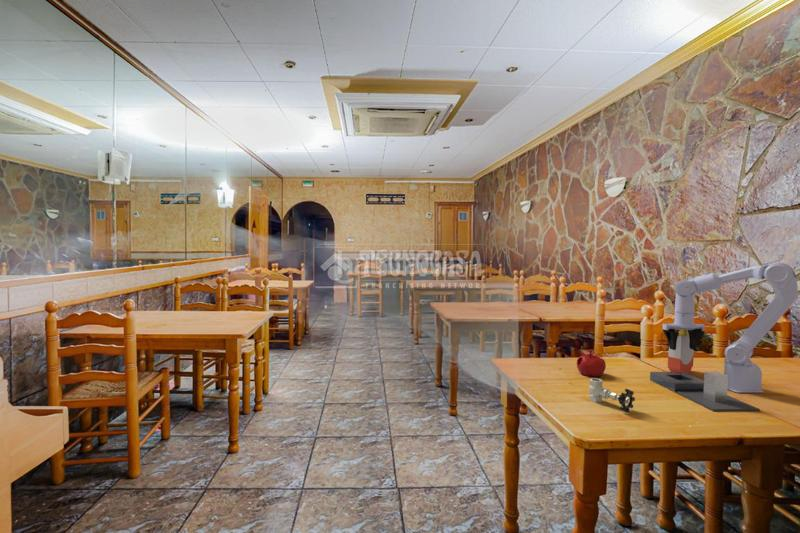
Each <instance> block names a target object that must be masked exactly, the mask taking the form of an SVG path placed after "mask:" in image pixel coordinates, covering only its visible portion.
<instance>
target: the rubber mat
mask: <svg viewBox="0 0 800 533" xmlns="http://www.w3.org/2000/svg"><path fill="white" fill-rule="evenodd" d="M676 394H677V395H679V396H682V397H684V398H686V399H687V398H688V400H689V399H690V400H689V401H691V400H692V401H691V402H693V401H694V403H695V402H696V404H697V403H698V405H699V404H700V405H699V406H701V405H702V406H701V407H703V406H704V407H703V408H706V409H708V410H710V411H712V412H760V408H758V407H756V406H753V405H751V404H749V403H747V402H744V401H742V400H740V399H737V398H735V397H732V396H730V395H728V394H727V402H714V401H711V400H709V399H707V398H705V397H703V394H704V392H676Z"/></svg>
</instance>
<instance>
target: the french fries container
mask: <svg viewBox="0 0 800 533" xmlns="http://www.w3.org/2000/svg"><path fill="white" fill-rule="evenodd" d="M675 331H676V332H677V330H675ZM678 332H679V335H678V338H677V343H676V350H672V349H670V347H669V346H668V351H667V352H668V353H667V355H668V356H667V368H668V370H669V372H684V373H687V374H690V373H691V371H692V368H693V366H694V358H695V357H694V354H695V352H694V351H695V350H693V349H690V347H689V333H688V330H678Z"/></svg>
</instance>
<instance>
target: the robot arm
mask: <svg viewBox="0 0 800 533" xmlns="http://www.w3.org/2000/svg"><path fill="white" fill-rule="evenodd" d="M748 279H757V280H761V281H762V280H766V281H767V282H768V283H769V284H770V285H771V286H772V289H773V291H774V294H775V296H774V298H772V299H771V301H770V302H769V304H767V305H766V307H765V308H764V309H763V311H762V312H761V313H760V314H759V315H758V316H757V317H756V318H755V320H754V321H753V322H752V324H750V326H749V327H748V328H747V329H746V331H744V333H743V334H742V335H740V337H739V339H737V340H735V341H733V342H732V343H731V344H730V345H729V346H727V347H726V348H725V349H724V356H725V359H724V361H723V362H724V365H723V374H725V375H727V376H728V387H727V390H729V391H731V392H734V393H738V394H739V393H740V394H741V393H742V394H743V393H752V394H753V393H760V394H761V393H764V390H762V381H763V380H762V378H763V374H762V373H763V372H762V370H761V368H760V366H759V365H758V364H757V363H755V362H754V363H753V362H752V360H751V359H750V358H751V357H752V356H753V354H754V349H755V347H756V346H757V345H758V344H759V343H760V341H761V340H762V339H763V338H764V337H765V336H766V335H767V334H768V332H769V331H771V329H772V328H773V327H774V326H775V325H776V323H778V321H779V320H780V319H781V318H782V317H783V316H784V315H785V314H786V312H787V311H788V310H789V309H790V308H791V307H792V305H793V304H794V303H795V302H796V300H797V299H798V298H799V288H798V287H799V286H798V275H797V274H796V272H795V270H794V269H793V267H792V266H790V265H789V264H787V263H783V262H778V263H772V264H765V265H756V266H755V265H754V266H750V267H746V268H742V269H738V270H735V271H731V272H727V273H723V274H717V273H715V272H711V273H710V272H709V271H708V272H705V273H703V275H699V276H694V277H693V276H689V277H688V279H681V280H678V281H677V282H675V283H674V286H673V289H674V292H675V300H674V322H672V323H662V332H663V333H664V335H665V337H666V339H667V343H668V348H669V347H670V349H672V350H676V343H677V338H678V335H679V331H680V330H688V333H689V347H690V349H693V350H694V351H696V350H697V347H698V345H699V342H700V341H701V339H702V338H703V336H704V335H706V334H705V331H706V325H705V324H702V323H695V302H696V301H695V294H699V293H700V294H701V293H705V292H711V291H713V290H718V289H721V287H722V285H724V284H728V283H732V282H737V281H741V280H748ZM675 330H676V331H675Z"/></svg>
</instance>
